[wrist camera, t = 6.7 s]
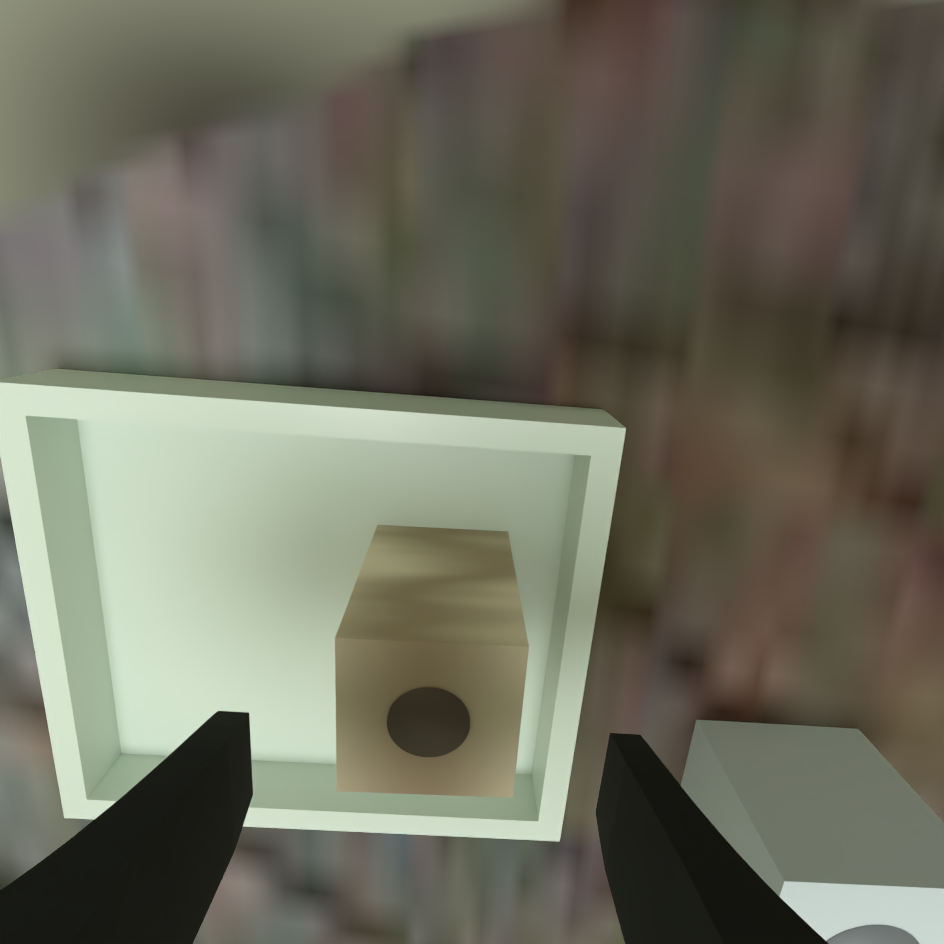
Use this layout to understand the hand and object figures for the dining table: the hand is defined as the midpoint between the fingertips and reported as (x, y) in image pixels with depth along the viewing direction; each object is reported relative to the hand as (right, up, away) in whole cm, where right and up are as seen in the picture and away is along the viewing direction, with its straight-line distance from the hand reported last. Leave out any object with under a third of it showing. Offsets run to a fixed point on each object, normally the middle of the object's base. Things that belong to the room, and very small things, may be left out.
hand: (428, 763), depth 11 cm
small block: (0, +2, +7) cm, 7 cm away
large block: (+12, -6, +10) cm, 17 cm away
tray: (-4, +2, +7) cm, 8 cm away
